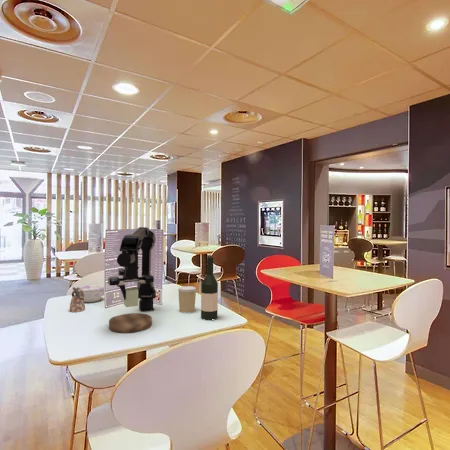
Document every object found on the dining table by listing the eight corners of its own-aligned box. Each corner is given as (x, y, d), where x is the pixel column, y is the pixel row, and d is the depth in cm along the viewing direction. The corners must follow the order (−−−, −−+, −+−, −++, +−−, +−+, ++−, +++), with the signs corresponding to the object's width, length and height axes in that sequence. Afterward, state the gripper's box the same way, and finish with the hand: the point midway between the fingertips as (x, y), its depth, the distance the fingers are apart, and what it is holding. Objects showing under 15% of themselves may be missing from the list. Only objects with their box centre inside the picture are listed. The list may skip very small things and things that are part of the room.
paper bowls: (86, 297, 185) (86, 284, 185) (109, 298, 183) (109, 285, 183) (70, 303, 170) (70, 289, 170) (95, 304, 168) (95, 290, 168)
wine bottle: (220, 316, 148) (221, 255, 149) (212, 321, 141) (213, 257, 141) (205, 314, 152) (206, 254, 152) (197, 318, 144) (198, 256, 145)
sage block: (135, 303, 137) (135, 287, 137) (138, 305, 132) (138, 289, 132) (124, 304, 134) (124, 288, 134) (126, 307, 130) (126, 290, 130)
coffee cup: (198, 309, 161) (199, 286, 161) (191, 314, 152) (191, 290, 152) (183, 307, 164) (183, 285, 164) (174, 312, 155) (175, 288, 155)
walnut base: (145, 317, 145) (145, 311, 145) (156, 328, 130) (156, 321, 130) (106, 323, 137) (106, 316, 137) (112, 335, 121) (112, 328, 121)
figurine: (78, 312, 152) (79, 288, 152) (66, 311, 153) (66, 288, 153) (87, 309, 159) (88, 286, 159) (75, 308, 160) (76, 285, 160)
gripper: (147, 260, 145) (147, 293, 145) (106, 262, 136) (105, 297, 136) (154, 263, 135) (153, 298, 135) (110, 265, 126) (109, 303, 126)
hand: (131, 299), depth 133 cm, fingers closed on sage block, 5 cm apart
